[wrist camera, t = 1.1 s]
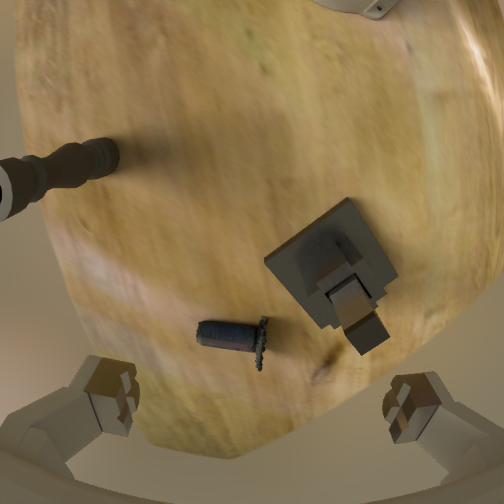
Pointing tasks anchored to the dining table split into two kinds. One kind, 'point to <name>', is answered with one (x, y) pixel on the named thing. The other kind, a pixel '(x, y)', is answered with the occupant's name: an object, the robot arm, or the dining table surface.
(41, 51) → the dining table surface
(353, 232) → the stand
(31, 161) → the candle holder
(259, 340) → the dark flanged cylinder
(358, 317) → the column
